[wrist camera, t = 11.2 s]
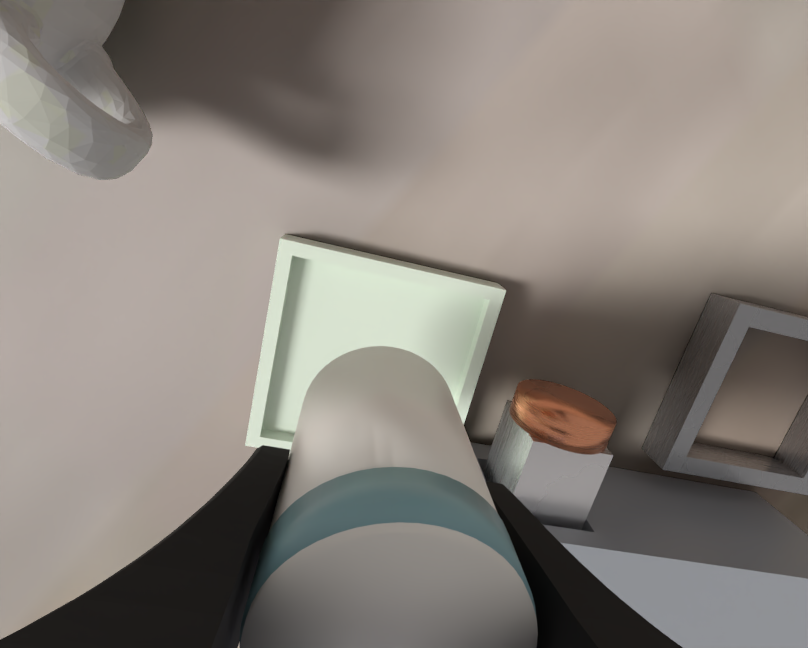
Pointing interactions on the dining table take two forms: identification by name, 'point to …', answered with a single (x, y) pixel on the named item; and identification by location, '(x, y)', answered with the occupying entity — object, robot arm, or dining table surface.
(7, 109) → the teacup
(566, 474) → the copper knob grey block
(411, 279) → the tray
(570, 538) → the housing
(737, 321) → the collar
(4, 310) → the dining table surface
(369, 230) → the dining table surface
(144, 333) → the dining table surface
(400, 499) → the cylinder
